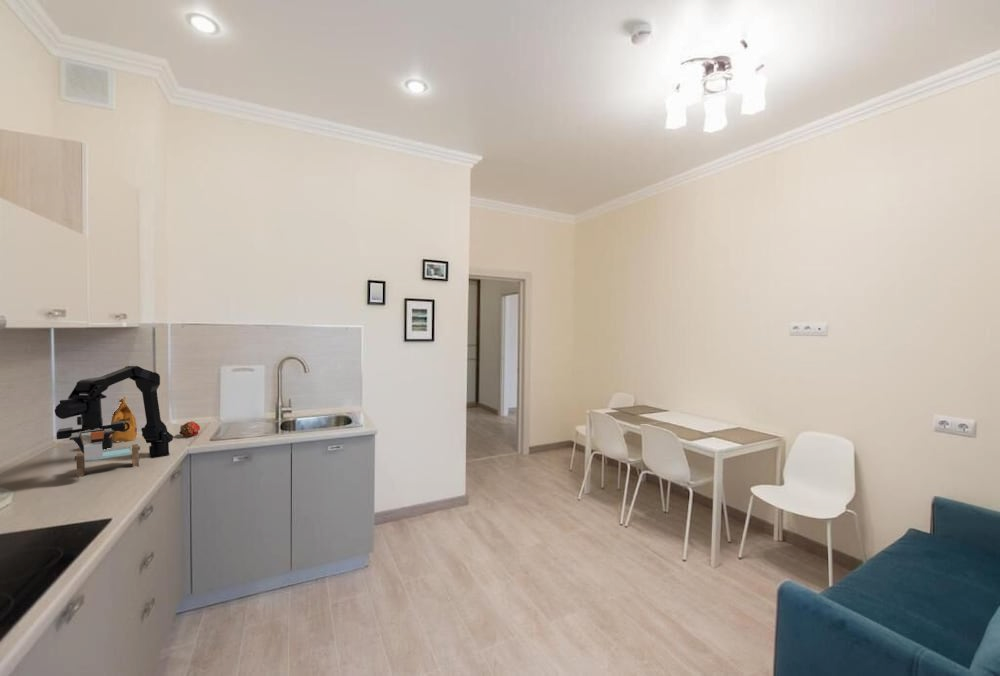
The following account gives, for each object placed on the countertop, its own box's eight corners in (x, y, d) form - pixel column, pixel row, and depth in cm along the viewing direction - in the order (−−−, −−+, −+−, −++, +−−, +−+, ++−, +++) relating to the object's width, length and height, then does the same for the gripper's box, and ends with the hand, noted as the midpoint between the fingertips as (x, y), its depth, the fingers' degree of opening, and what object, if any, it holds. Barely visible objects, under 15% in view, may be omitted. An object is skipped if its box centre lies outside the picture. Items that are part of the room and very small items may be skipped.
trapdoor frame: (140, 462, 181) (139, 443, 180) (140, 465, 177) (140, 446, 177) (75, 474, 167) (75, 453, 167) (74, 477, 164) (74, 456, 163)
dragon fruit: (186, 442, 214) (190, 439, 225) (202, 431, 218) (205, 428, 229) (174, 430, 213) (178, 428, 223) (190, 419, 216) (194, 417, 227)
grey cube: (103, 453, 164) (102, 441, 163) (102, 457, 160) (102, 444, 160) (85, 456, 160) (84, 444, 160) (84, 460, 157) (83, 447, 156)
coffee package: (110, 444, 205) (108, 400, 204) (112, 438, 215) (110, 396, 214) (136, 440, 212) (135, 398, 210) (137, 434, 221) (136, 394, 220)
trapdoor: (130, 452, 181) (130, 445, 181) (130, 458, 173) (130, 451, 173) (86, 459, 171) (86, 452, 171) (85, 466, 164) (84, 459, 163)
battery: (93, 449, 198) (92, 428, 197) (112, 446, 201) (112, 426, 201) (91, 451, 194) (90, 430, 193) (110, 449, 198) (109, 428, 197)
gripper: (123, 404, 171) (125, 440, 172) (58, 411, 158) (60, 451, 160) (124, 409, 163) (126, 447, 164) (55, 417, 150) (57, 459, 151)
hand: (93, 451), depth 160 cm, fingers closed on grey cube, 5 cm apart
